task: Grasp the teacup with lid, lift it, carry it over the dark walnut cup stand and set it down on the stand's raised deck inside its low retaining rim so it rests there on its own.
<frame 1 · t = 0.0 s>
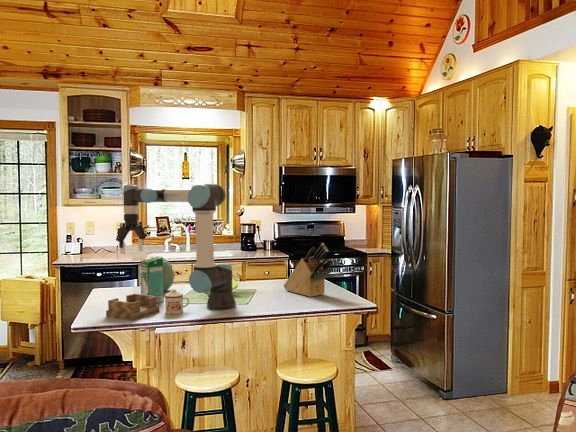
hand: (131, 252, 274), 28 cm above the countertop, fingers open, 13 cm apart
knife block: (308, 294, 296), on the countertop
milk carton: (152, 302, 279), on the countertop
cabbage: (161, 291, 308), on the countertop
teacup with lid: (177, 312, 254), on the countertop
walnut cup stand: (133, 314, 251), on the countertop
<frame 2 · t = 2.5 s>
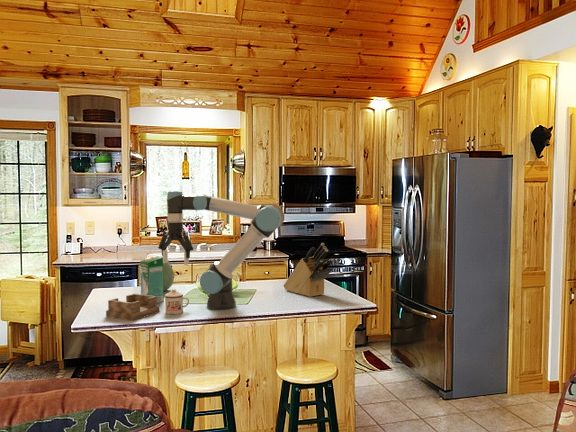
hand: (175, 263, 253), 25 cm above the countertop, fingers open, 13 cm apart
nothing on the countertop moved.
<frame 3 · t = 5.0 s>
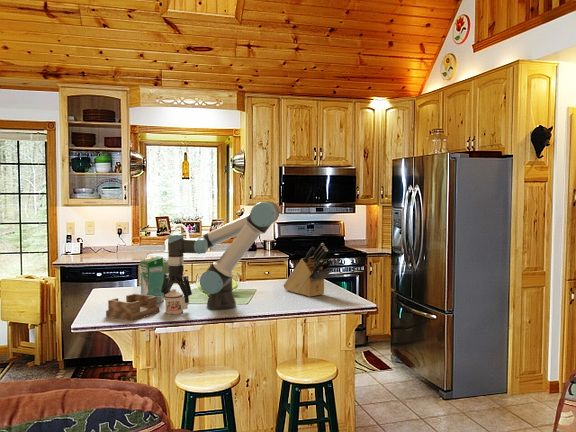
hand: (176, 307, 254), 2 cm above the countertop, fingers open, 10 cm apart
teacup with lid: (177, 312, 254), on the countertop, touching gripper
everything else where it was.
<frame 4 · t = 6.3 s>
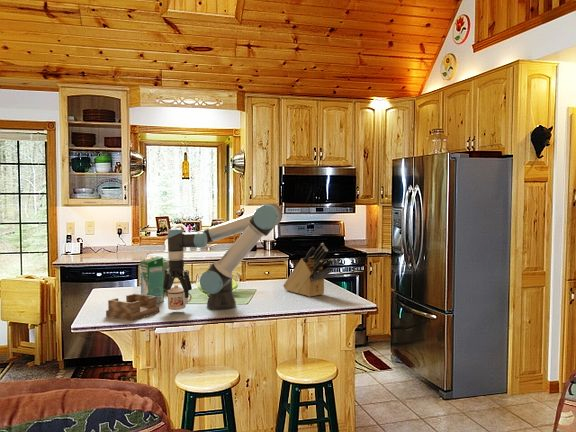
hand: (177, 303, 254), 4 cm above the countertop, fingers closed on teacup with lid, 9 cm apart
teacup with lid: (179, 308, 254), point 2 cm above the countertop, touching gripper
everything else where it was.
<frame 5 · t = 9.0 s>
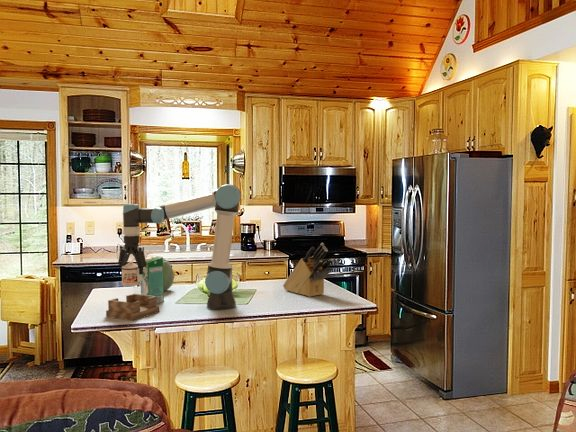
hand: (132, 280, 250), 17 cm above the countertop, fingers closed on teacup with lid, 9 cm apart
teacup with lid: (134, 284, 249), point 15 cm above the countertop, touching gripper
everything else where it was.
when the fingers open (5 cm above the countertop, at t = 12.1 s): teacup with lid stays where it is, resting on walnut cup stand.
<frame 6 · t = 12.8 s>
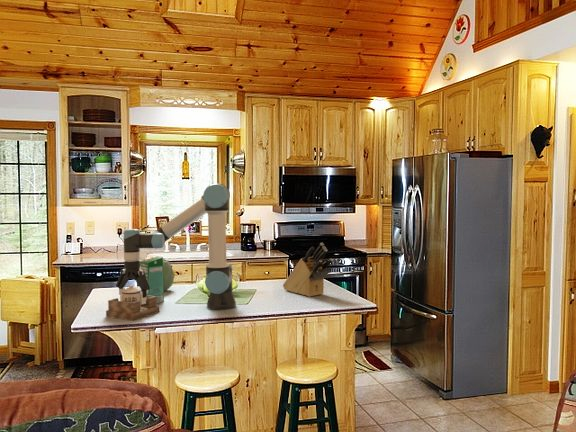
hand: (133, 302, 250), 6 cm above the countertop, fingers open, 13 cm apart
teacup with lid: (134, 308, 250), point 3 cm above the countertop, touching walnut cup stand
everything else where it was.
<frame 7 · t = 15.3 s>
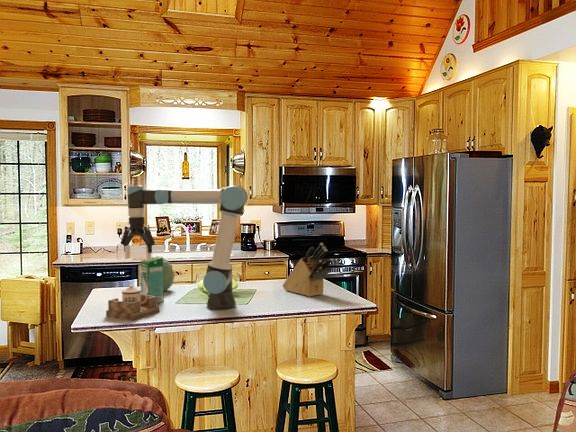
hand: (138, 259, 251), 27 cm above the countertop, fingers open, 13 cm apart
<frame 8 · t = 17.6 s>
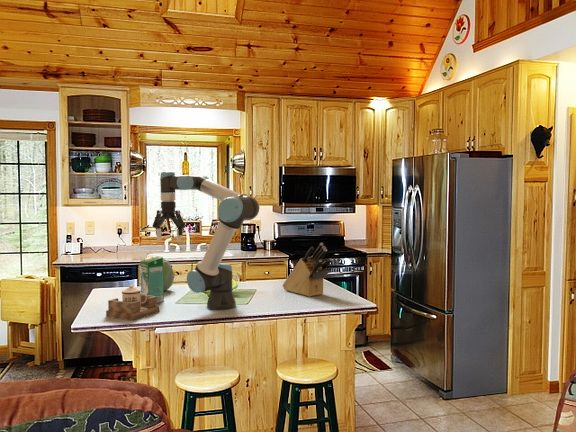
hand: (169, 241, 266), 35 cm above the countertop, fingers open, 13 cm apart
at the end: teacup with lid inside the target area on the walnut cup stand (1.0 cm from its centre), point 2.8 cm above the walnut cup stand's base; teacup with lid tilted 0°; the gripper is holding nothing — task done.
